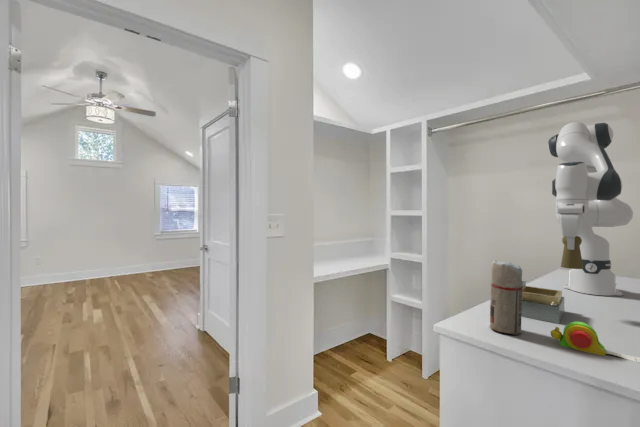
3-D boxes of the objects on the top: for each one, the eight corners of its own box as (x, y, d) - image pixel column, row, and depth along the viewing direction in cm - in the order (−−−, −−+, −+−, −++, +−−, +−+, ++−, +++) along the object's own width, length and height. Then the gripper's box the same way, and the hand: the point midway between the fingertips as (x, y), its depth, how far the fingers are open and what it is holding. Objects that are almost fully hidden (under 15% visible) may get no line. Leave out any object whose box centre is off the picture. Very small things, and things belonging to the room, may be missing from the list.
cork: (587, 269, 101) (587, 236, 101) (566, 268, 102) (566, 235, 102) (577, 266, 106) (577, 235, 106) (557, 265, 108) (557, 234, 108)
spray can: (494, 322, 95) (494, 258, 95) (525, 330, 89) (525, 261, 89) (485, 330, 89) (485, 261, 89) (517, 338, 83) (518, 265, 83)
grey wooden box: (523, 304, 114) (523, 280, 114) (564, 311, 106) (564, 285, 106) (513, 314, 102) (514, 288, 102) (559, 323, 94) (559, 294, 94)
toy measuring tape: (550, 338, 84) (550, 314, 84) (654, 359, 72) (654, 332, 72) (550, 346, 79) (550, 321, 79) (661, 371, 67) (661, 341, 67)
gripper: (562, 209, 114) (562, 246, 114) (556, 208, 99) (556, 250, 99) (584, 209, 110) (584, 247, 110) (582, 207, 95) (582, 252, 95)
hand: (571, 248), depth 104 cm, fingers closed on cork, 4 cm apart
